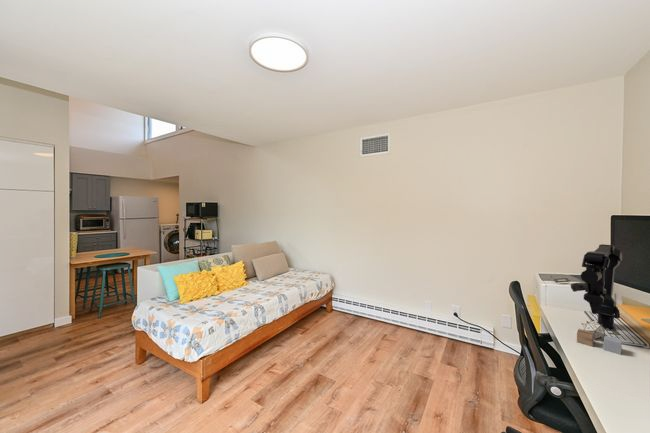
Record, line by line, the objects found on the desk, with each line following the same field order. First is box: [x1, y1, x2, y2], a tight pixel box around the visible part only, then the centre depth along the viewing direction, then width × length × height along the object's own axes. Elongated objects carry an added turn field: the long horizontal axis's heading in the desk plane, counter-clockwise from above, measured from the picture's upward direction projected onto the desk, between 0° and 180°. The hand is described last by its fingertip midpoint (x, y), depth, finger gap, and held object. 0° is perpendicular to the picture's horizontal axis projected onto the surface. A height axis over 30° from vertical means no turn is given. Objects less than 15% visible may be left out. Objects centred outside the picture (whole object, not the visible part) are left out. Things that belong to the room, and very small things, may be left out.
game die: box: [581, 319, 608, 341], centre depth 124 cm, size 9×8×10 cm
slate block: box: [603, 334, 623, 356], centre depth 114 cm, size 5×5×5 cm
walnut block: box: [576, 328, 595, 348], centre depth 120 cm, size 5×5×5 cm
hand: (594, 311), depth 124 cm, fingers open, 8 cm apart
